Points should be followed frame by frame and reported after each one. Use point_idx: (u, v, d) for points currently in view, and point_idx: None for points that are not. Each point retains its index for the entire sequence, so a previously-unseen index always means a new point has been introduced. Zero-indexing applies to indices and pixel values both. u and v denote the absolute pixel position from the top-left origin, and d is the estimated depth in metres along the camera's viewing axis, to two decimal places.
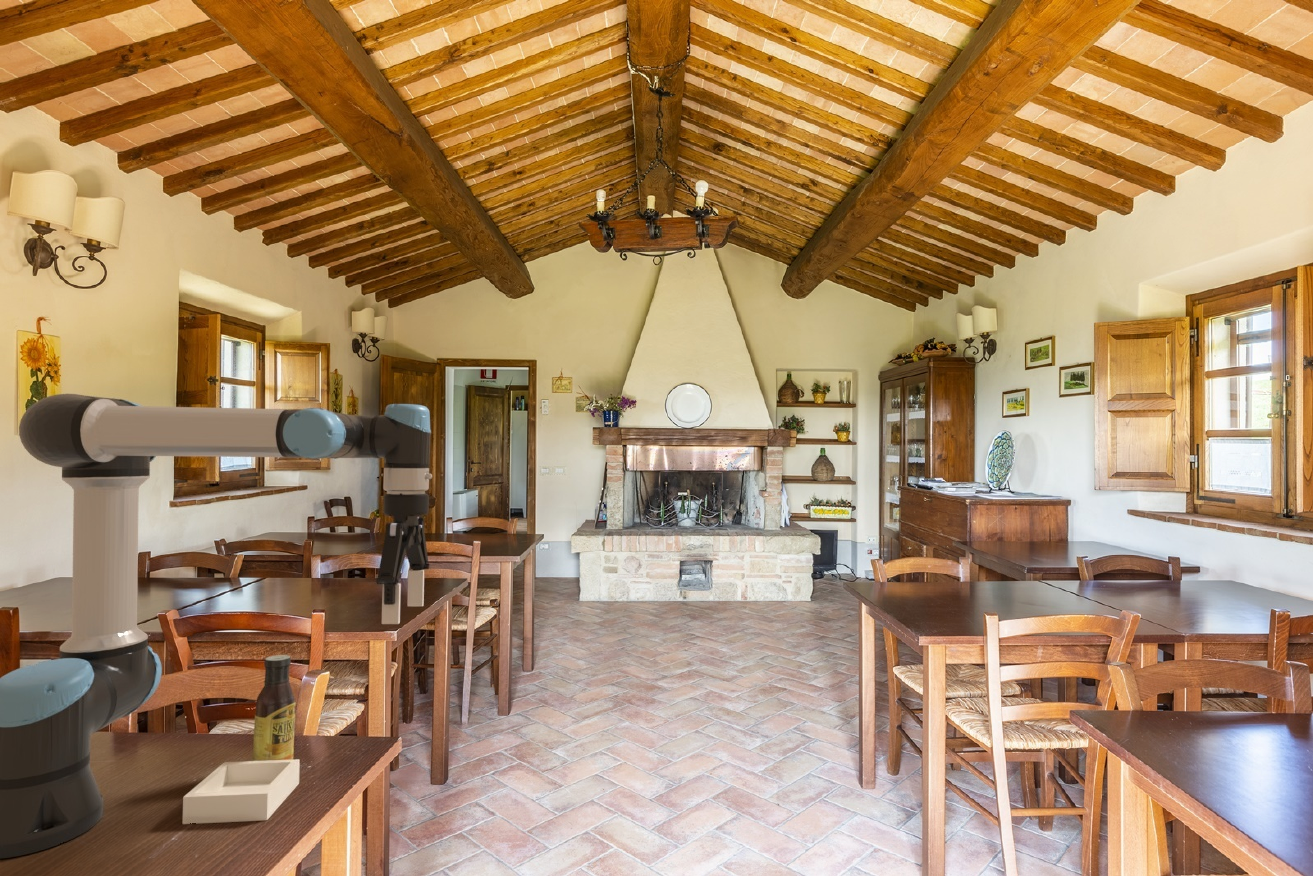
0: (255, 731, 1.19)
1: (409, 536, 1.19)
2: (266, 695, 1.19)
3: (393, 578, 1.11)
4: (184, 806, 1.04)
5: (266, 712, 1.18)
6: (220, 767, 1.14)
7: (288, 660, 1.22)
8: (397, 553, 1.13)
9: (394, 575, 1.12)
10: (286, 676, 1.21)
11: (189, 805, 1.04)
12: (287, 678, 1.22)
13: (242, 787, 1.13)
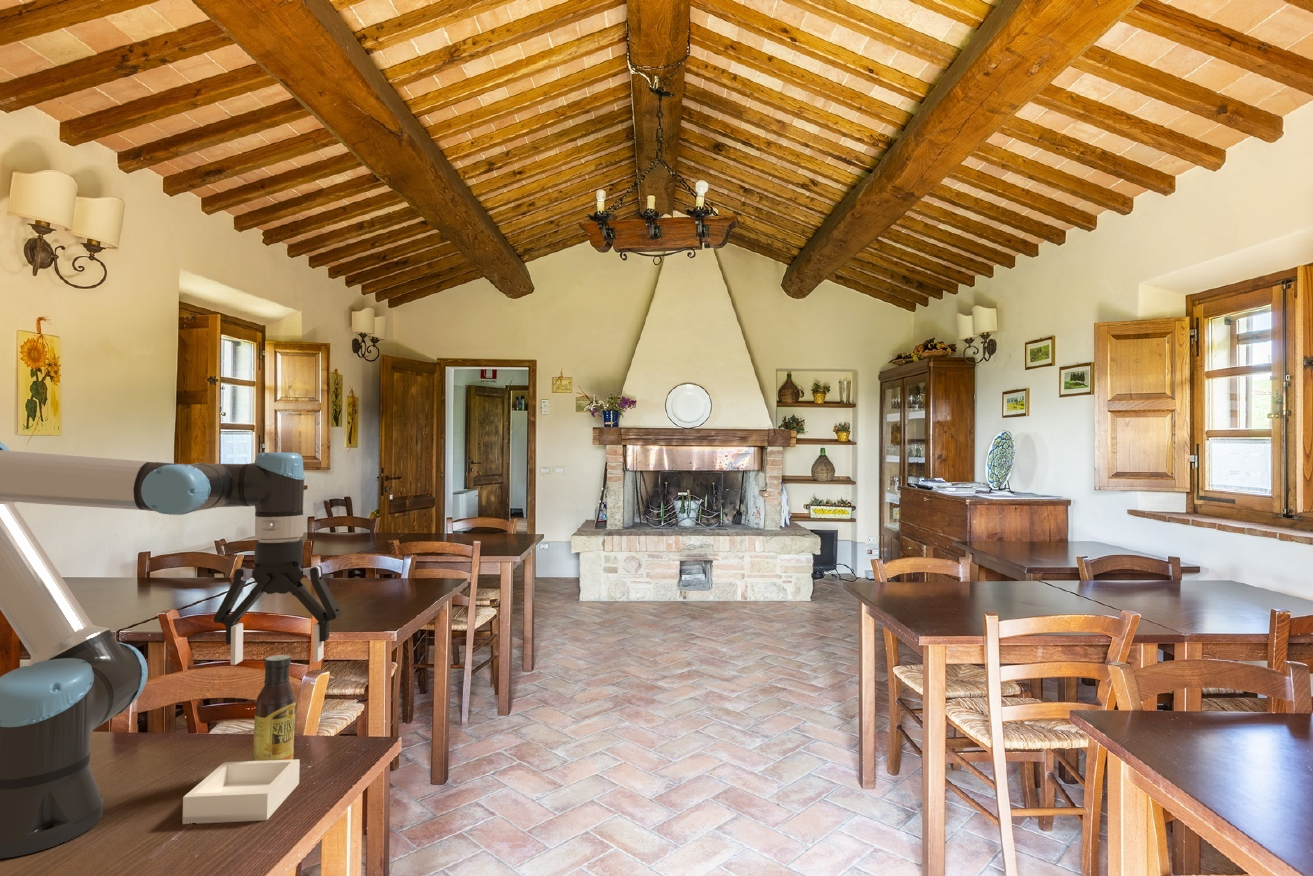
0: (255, 731, 1.19)
1: (257, 583, 1.20)
2: (266, 695, 1.19)
3: (214, 619, 1.19)
4: (184, 806, 1.04)
5: (266, 712, 1.18)
6: (220, 767, 1.14)
7: (288, 660, 1.22)
8: (227, 596, 1.20)
9: (218, 616, 1.19)
10: (286, 676, 1.21)
11: (189, 805, 1.04)
12: (287, 678, 1.22)
13: (242, 787, 1.13)
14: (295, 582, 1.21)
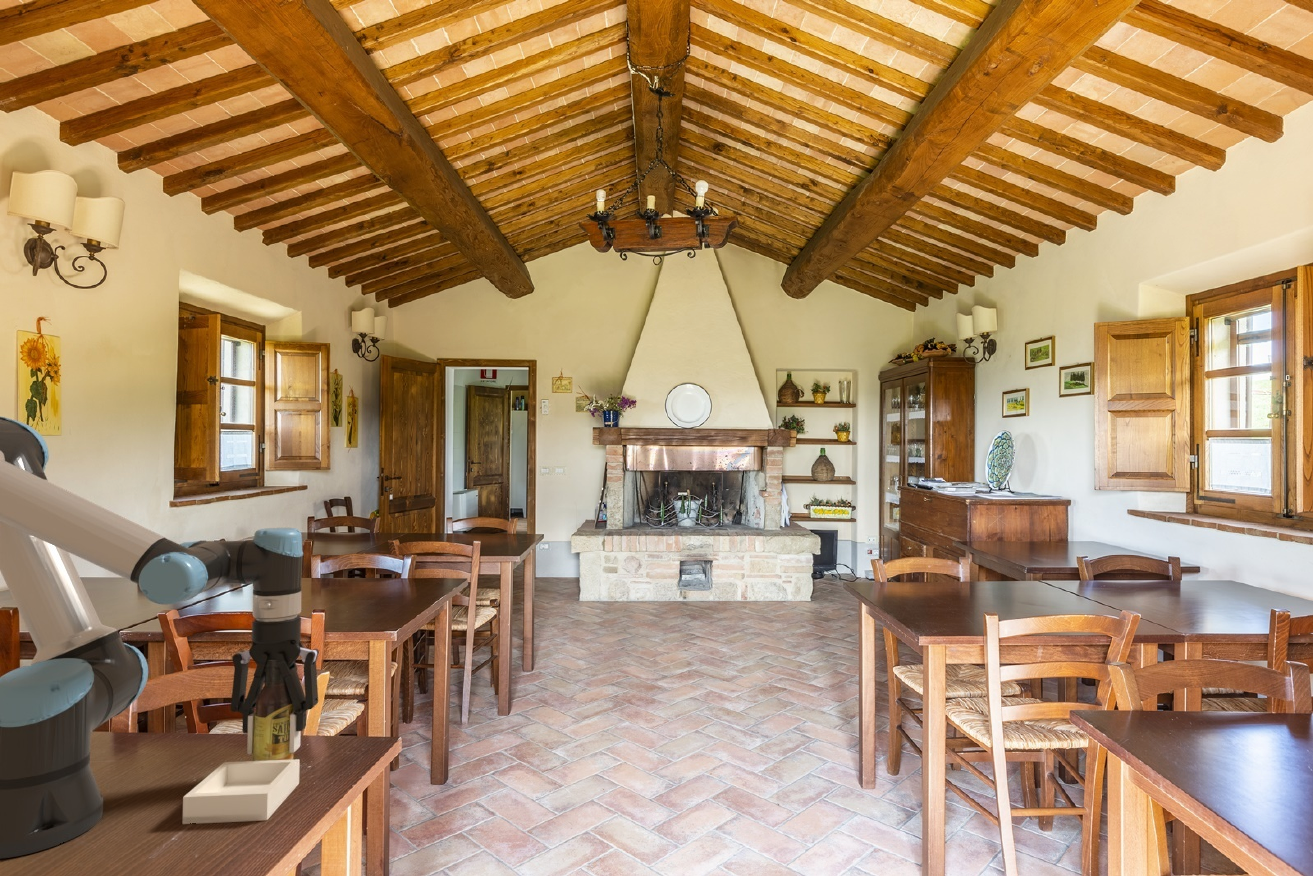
0: (255, 731, 1.19)
1: None
2: (266, 695, 1.19)
3: (231, 708, 1.19)
4: (184, 806, 1.04)
5: (266, 712, 1.18)
6: (220, 767, 1.14)
7: None
8: (235, 684, 1.19)
9: (234, 705, 1.19)
10: None
11: (189, 805, 1.04)
12: None
13: (242, 787, 1.13)
14: (289, 664, 1.21)
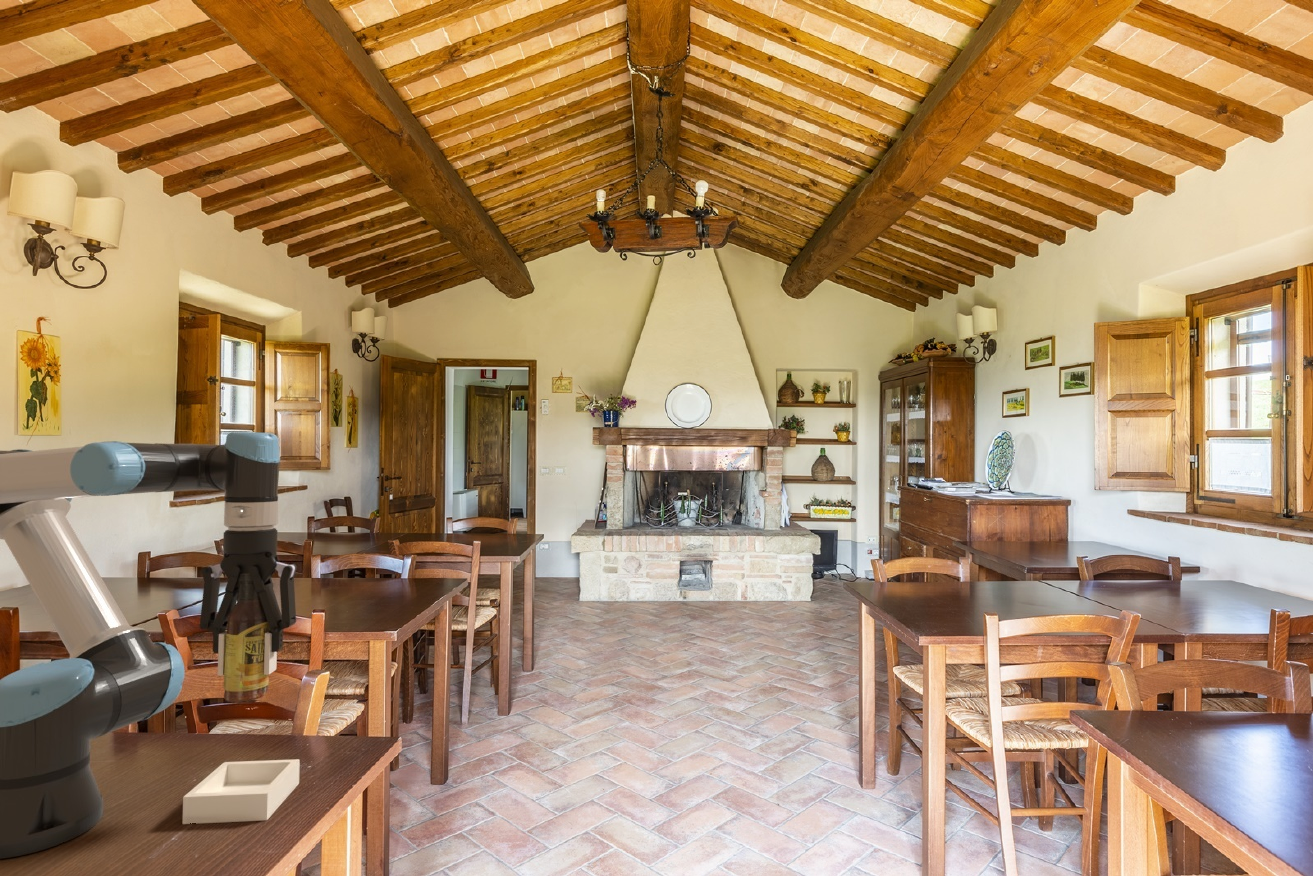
0: (226, 650, 1.09)
1: (229, 578, 1.10)
2: (238, 611, 1.09)
3: (201, 626, 1.09)
4: (184, 806, 1.04)
5: (238, 630, 1.08)
6: (220, 767, 1.14)
7: None
8: (204, 599, 1.09)
9: (204, 622, 1.09)
10: None
11: (189, 805, 1.04)
12: None
13: (242, 787, 1.13)
14: (264, 578, 1.11)
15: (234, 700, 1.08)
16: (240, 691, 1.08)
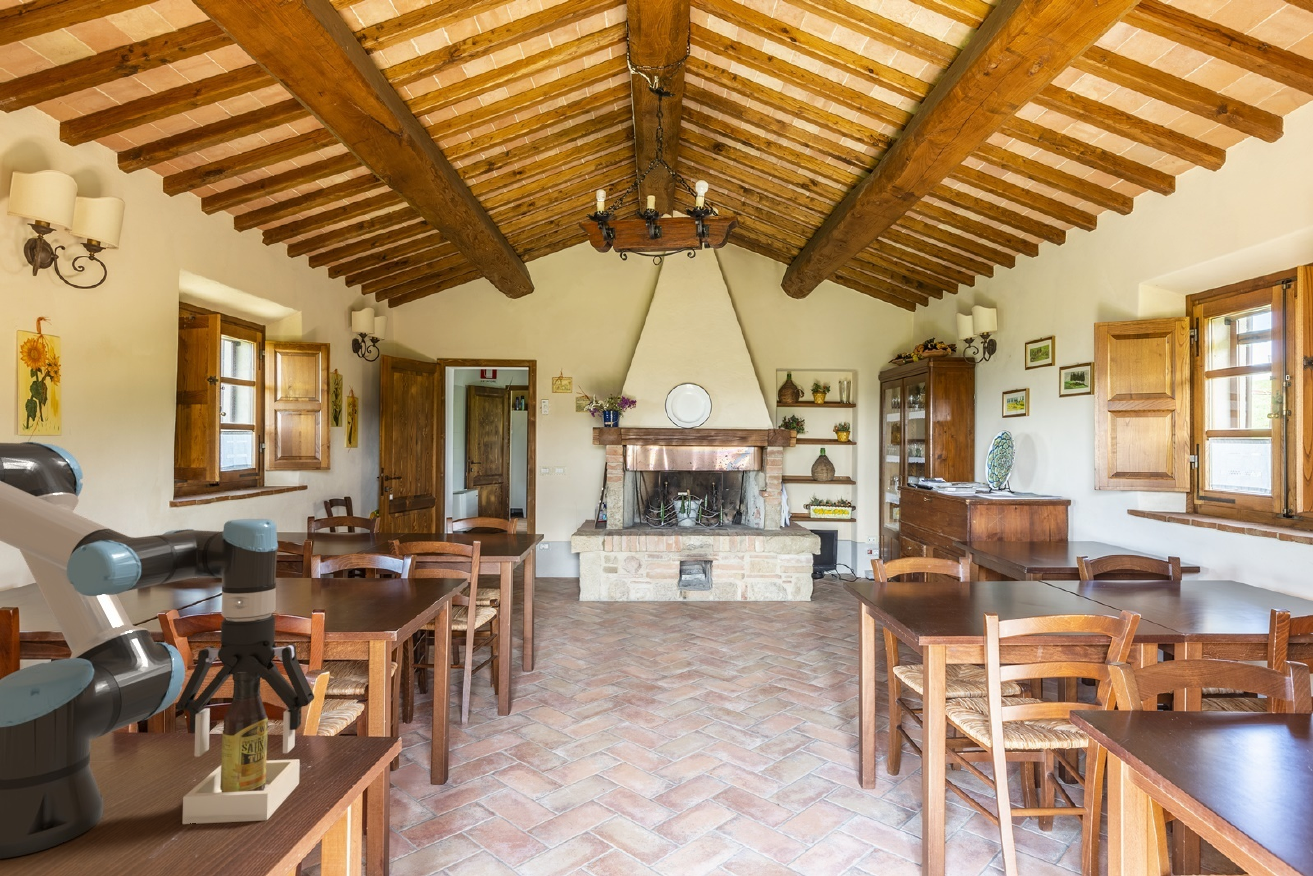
0: (223, 750, 1.08)
1: (224, 666, 1.09)
2: (234, 711, 1.09)
3: (177, 705, 1.08)
4: (184, 806, 1.04)
5: (235, 730, 1.08)
6: (220, 767, 1.14)
7: None
8: (191, 681, 1.09)
9: (182, 703, 1.09)
10: (256, 690, 1.11)
11: (189, 805, 1.04)
12: (258, 692, 1.11)
13: None
14: (265, 664, 1.10)
15: None
16: None
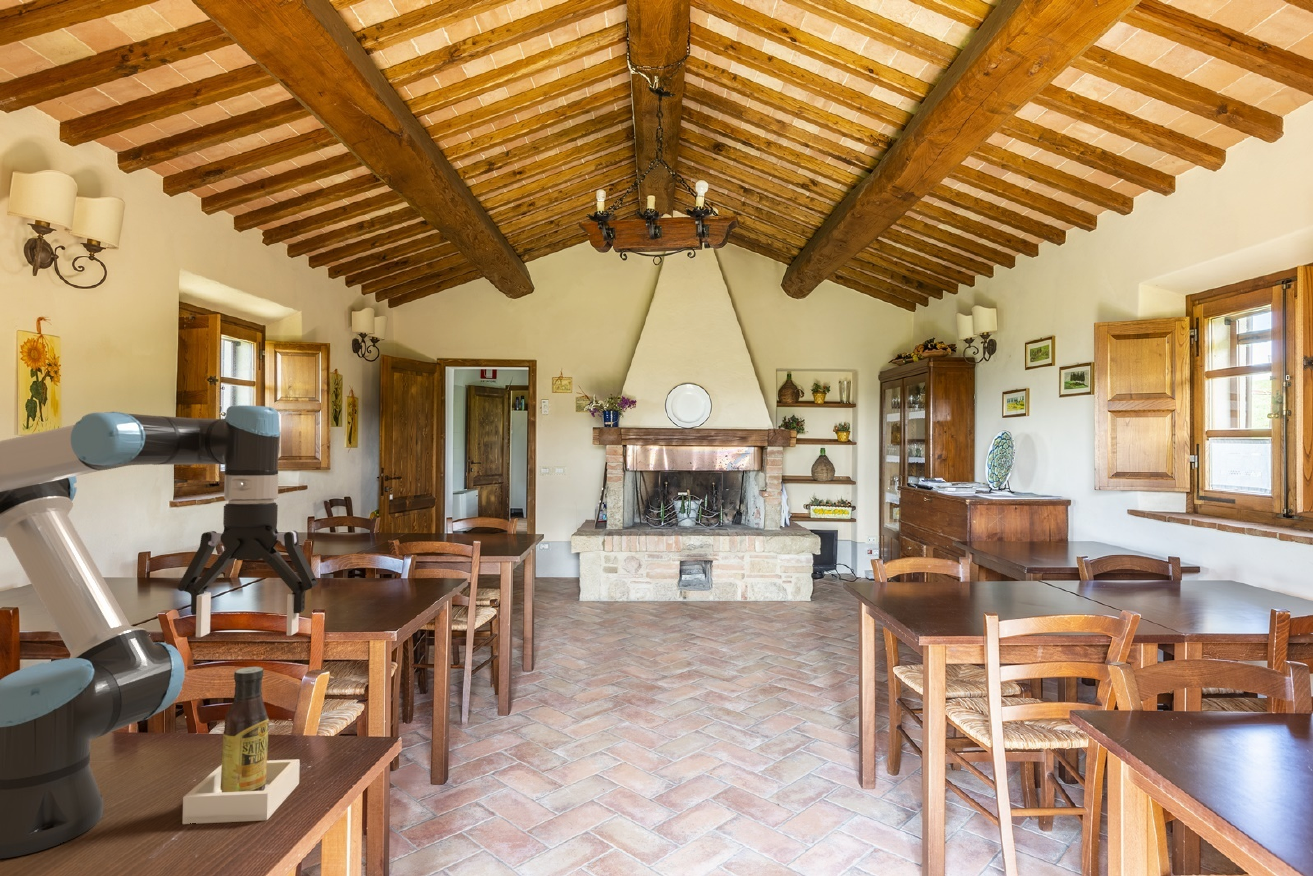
0: (223, 751, 1.08)
1: (226, 548, 1.10)
2: (235, 712, 1.09)
3: (179, 586, 1.09)
4: (184, 806, 1.04)
5: (236, 731, 1.08)
6: (220, 767, 1.14)
7: (260, 673, 1.11)
8: (193, 562, 1.09)
9: (183, 584, 1.09)
10: (258, 690, 1.11)
11: (189, 805, 1.04)
12: (259, 692, 1.11)
13: None
14: (268, 548, 1.11)
15: None
16: None
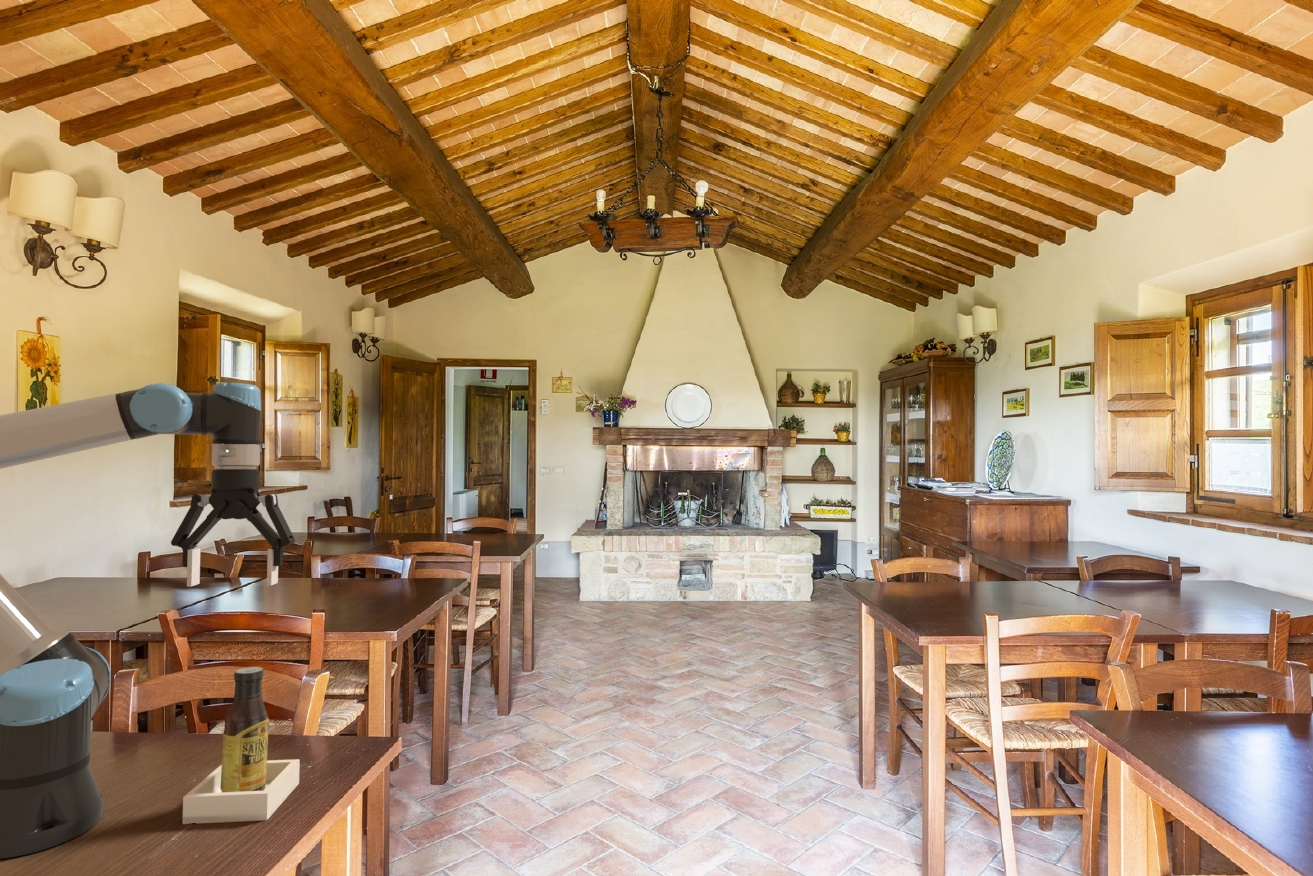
0: (223, 751, 1.08)
1: (213, 508, 1.25)
2: (235, 712, 1.09)
3: (172, 542, 1.24)
4: (184, 806, 1.04)
5: (236, 731, 1.08)
6: (220, 767, 1.14)
7: (260, 673, 1.11)
8: (184, 521, 1.24)
9: (176, 540, 1.24)
10: (258, 690, 1.11)
11: (189, 805, 1.04)
12: (259, 692, 1.11)
13: None
14: (250, 508, 1.26)
15: None
16: None
